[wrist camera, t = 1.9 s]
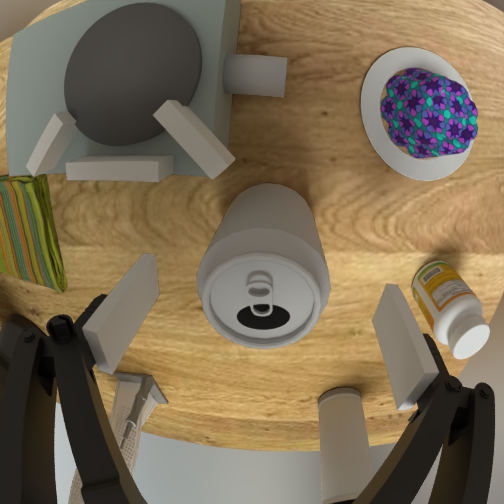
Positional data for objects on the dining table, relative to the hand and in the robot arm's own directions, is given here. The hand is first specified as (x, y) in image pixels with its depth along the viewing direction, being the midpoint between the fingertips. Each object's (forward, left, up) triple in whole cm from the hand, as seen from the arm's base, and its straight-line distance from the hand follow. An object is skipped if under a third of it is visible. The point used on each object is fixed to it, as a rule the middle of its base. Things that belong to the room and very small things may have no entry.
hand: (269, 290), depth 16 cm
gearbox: (-12, +12, -10) cm, 20 cm away
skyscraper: (-17, -30, -11) cm, 36 cm away
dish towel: (-42, -4, -11) cm, 44 cm away
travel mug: (+13, -25, -11) cm, 30 cm away
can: (0, 0, -11) cm, 11 cm away
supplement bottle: (+18, -4, -11) cm, 21 cm away
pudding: (+12, +12, -11) cm, 20 cm away
